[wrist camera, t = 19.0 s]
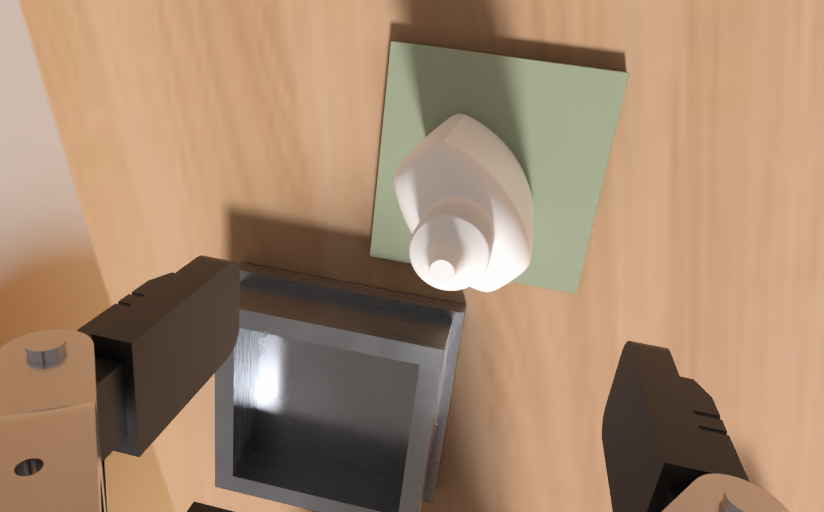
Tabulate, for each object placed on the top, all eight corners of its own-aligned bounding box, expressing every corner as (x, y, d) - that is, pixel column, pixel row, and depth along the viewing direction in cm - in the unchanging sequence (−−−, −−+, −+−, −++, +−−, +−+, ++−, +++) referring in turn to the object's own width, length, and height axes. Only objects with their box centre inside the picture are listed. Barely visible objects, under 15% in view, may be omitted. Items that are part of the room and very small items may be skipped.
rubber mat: (394, 41, 27) (390, 41, 26) (626, 71, 26) (629, 73, 25) (373, 250, 31) (369, 256, 30) (575, 287, 29) (576, 293, 29)
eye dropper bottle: (521, 101, 26) (510, 158, 15) (536, 226, 28) (535, 358, 17) (422, 117, 27) (343, 181, 16) (442, 236, 29) (383, 367, 18)
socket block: (242, 262, 32) (204, 292, 29) (466, 304, 31) (456, 342, 27) (239, 445, 37) (206, 491, 33) (435, 490, 35) (423, 544, 32)
